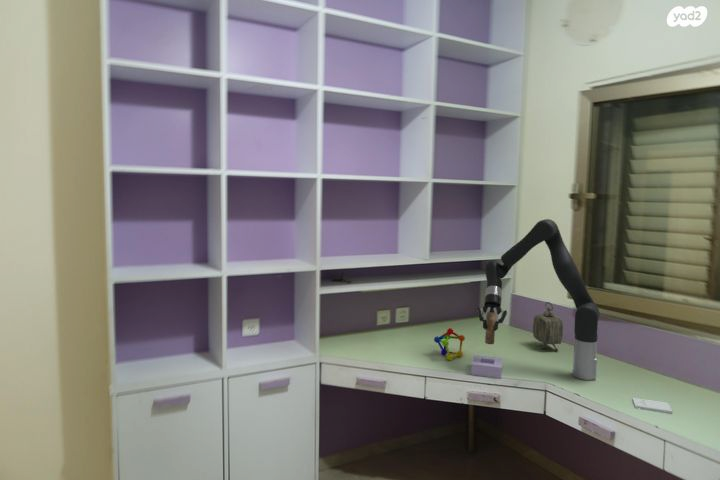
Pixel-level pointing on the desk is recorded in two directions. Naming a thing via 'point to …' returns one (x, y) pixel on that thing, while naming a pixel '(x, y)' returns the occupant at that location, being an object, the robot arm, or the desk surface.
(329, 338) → the desk surface
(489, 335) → the dowel
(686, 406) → the desk surface
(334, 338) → the desk surface
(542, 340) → the tabletop clock
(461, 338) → the educational toy
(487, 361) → the socket
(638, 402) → the external hard drive
